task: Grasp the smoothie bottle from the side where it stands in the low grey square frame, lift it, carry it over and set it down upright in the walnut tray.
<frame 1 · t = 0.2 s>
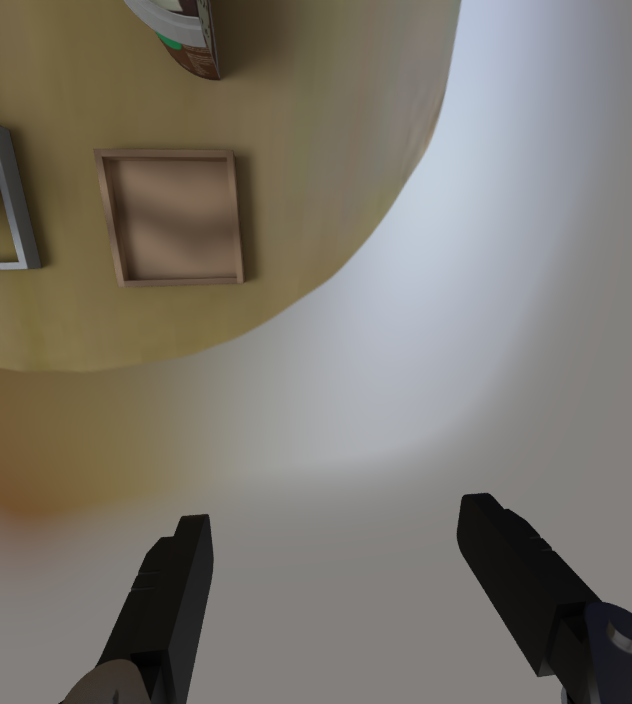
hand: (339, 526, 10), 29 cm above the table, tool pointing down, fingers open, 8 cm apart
food container: (177, 20, 30), on the table
walnut tray: (179, 223, 34), on the table
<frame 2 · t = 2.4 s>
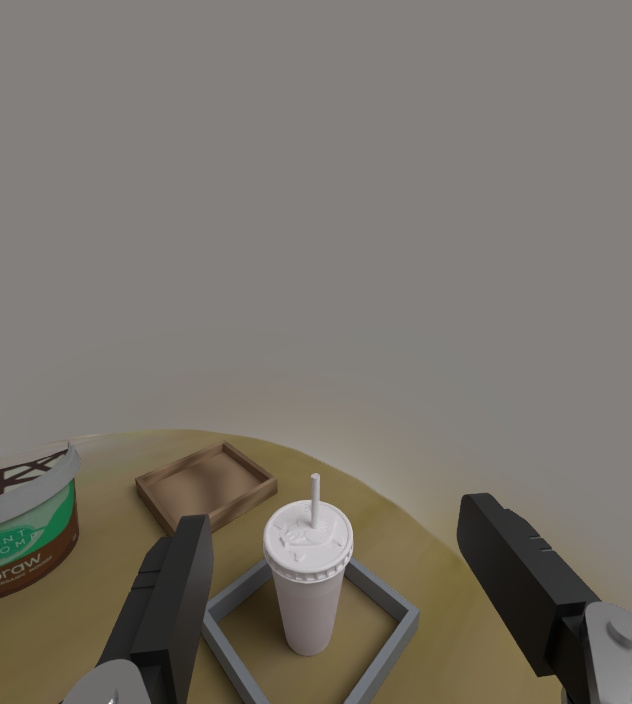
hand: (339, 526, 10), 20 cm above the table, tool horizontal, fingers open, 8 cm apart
food container: (27, 573, 31), on the table
smoothie: (308, 630, 26), resting in grey square frame
grey square frame: (308, 629, 26), on the table
walnut tray: (207, 492, 41), on the table
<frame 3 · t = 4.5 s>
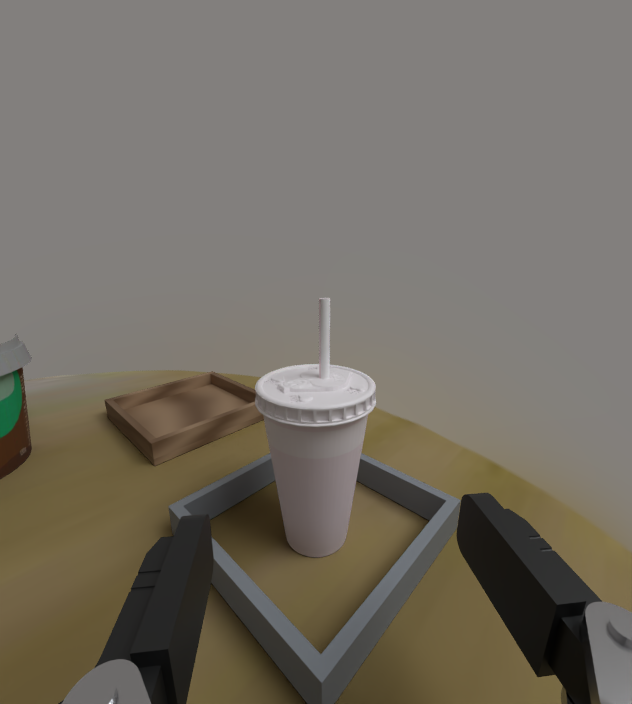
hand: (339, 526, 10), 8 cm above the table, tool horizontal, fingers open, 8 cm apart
smoothie: (316, 533, 20), resting in grey square frame
grey square frame: (316, 530, 20), on the table
walnut tray: (191, 416, 35), on the table
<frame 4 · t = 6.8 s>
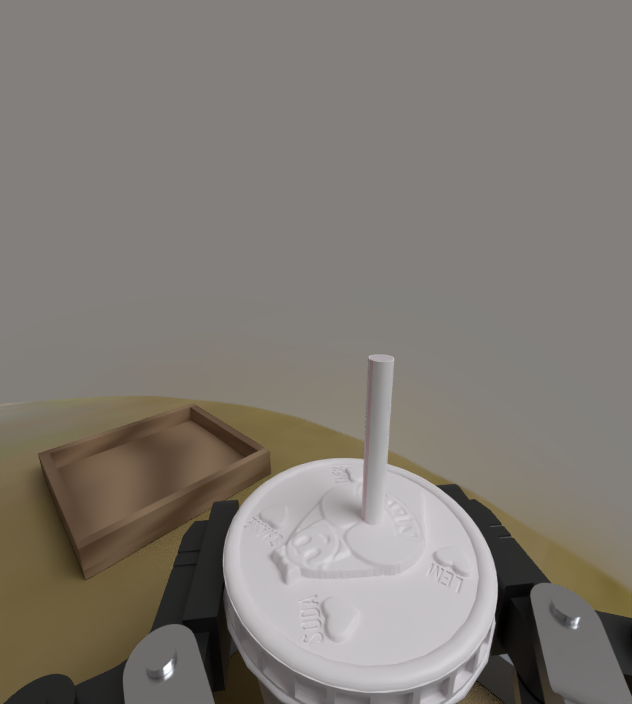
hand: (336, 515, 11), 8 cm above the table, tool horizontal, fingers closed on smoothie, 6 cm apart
walnut tray: (158, 474, 26), on the table
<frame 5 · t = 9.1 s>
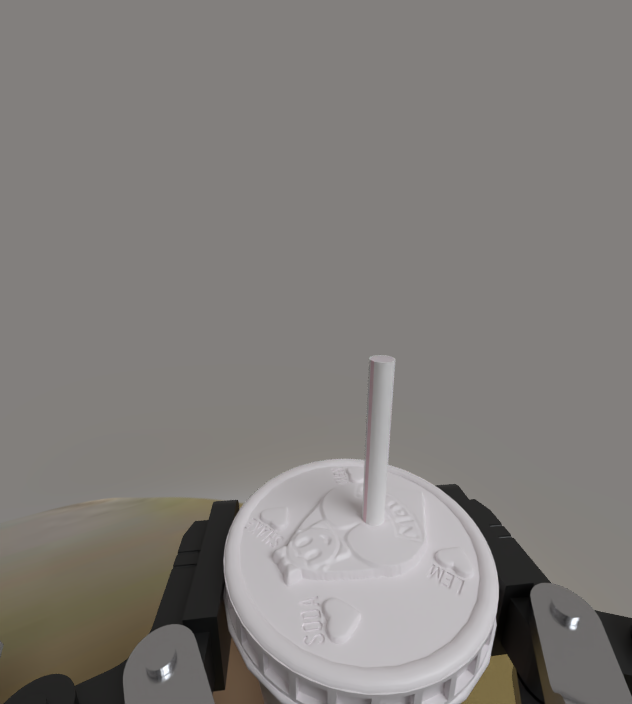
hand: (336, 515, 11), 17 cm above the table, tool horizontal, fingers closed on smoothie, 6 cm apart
when the fingers open (10 cm above the table, at t = 11.6 s): smoothie drops 1 cm, resting on walnut tray.
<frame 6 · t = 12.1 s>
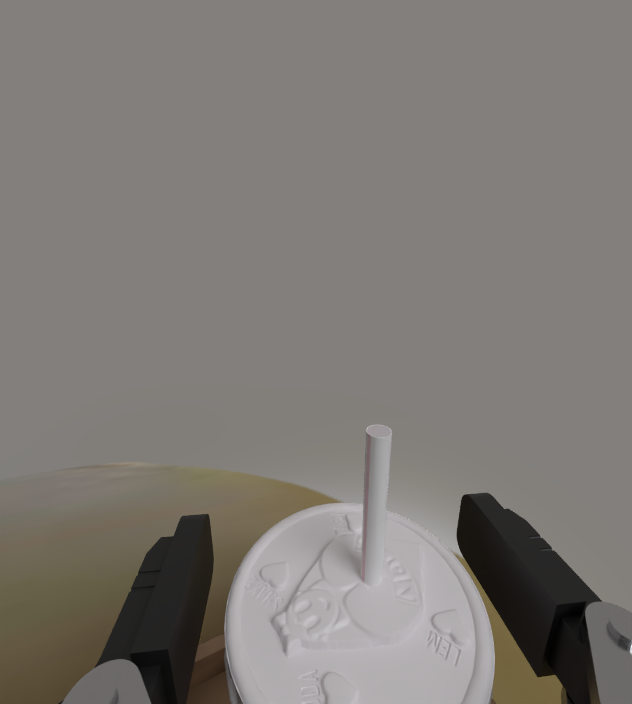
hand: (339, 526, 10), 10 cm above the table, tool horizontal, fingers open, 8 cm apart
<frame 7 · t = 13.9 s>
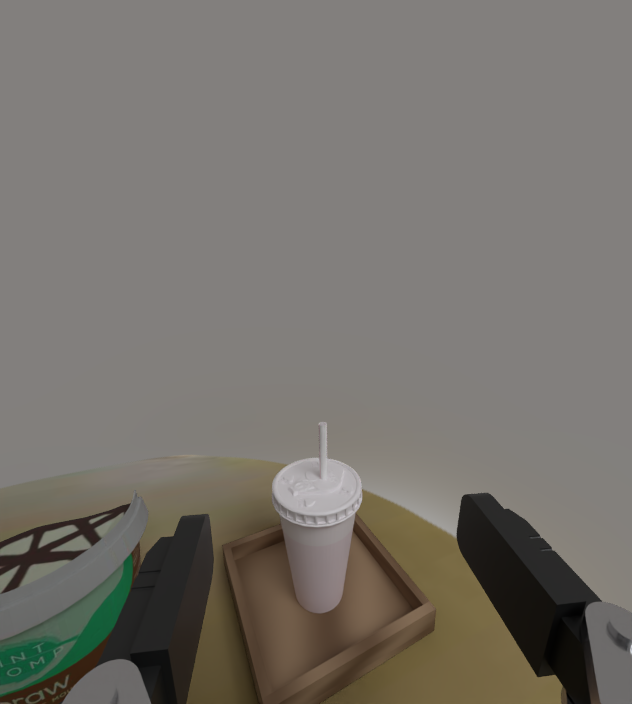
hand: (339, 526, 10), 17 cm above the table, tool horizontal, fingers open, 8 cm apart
food container: (61, 686, 21), on the table
smoothie: (318, 591, 26), resting on walnut tray
walnut tray: (318, 593, 26), on the table
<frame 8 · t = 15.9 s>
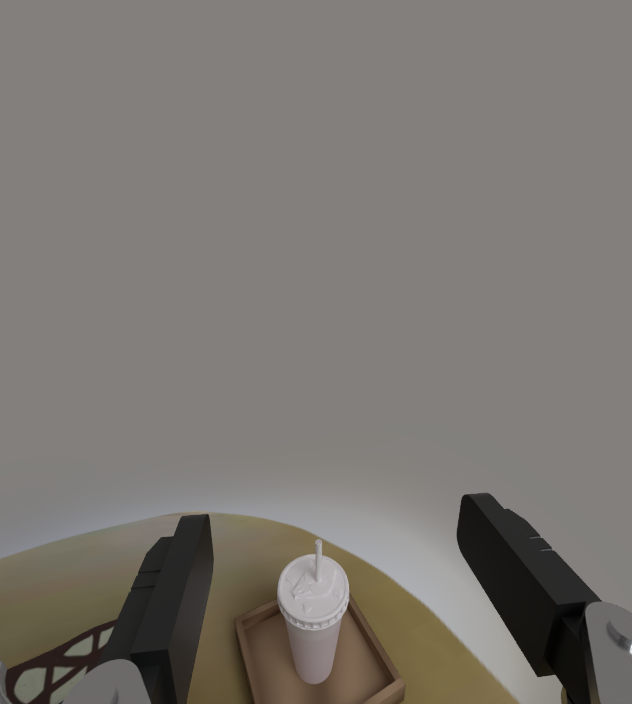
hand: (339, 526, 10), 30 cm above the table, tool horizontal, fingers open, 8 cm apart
smoothie: (313, 662, 32), resting on walnut tray
walnut tray: (312, 663, 32), on the table
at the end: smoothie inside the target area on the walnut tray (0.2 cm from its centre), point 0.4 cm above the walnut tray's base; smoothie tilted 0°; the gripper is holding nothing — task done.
